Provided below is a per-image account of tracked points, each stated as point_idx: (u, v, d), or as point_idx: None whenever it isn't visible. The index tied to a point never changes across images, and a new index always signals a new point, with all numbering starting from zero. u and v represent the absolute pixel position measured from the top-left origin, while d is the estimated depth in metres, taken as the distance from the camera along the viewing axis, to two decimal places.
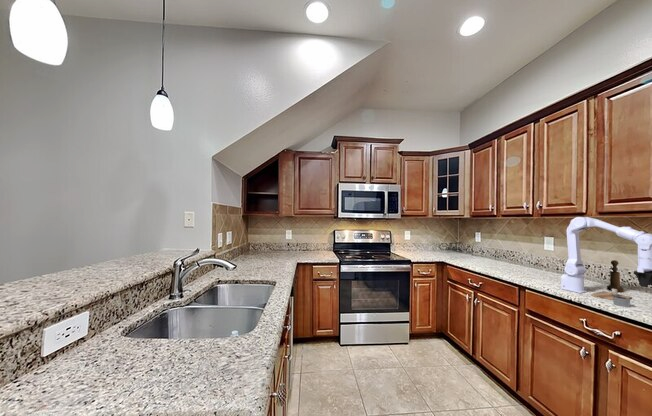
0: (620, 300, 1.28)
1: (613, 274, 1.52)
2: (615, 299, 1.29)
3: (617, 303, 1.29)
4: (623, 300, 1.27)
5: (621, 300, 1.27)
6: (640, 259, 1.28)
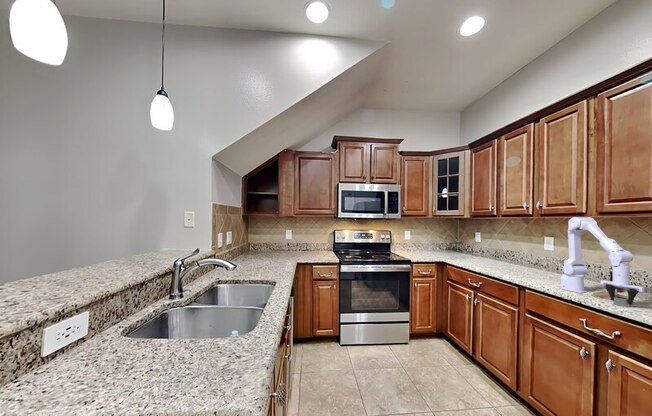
0: (620, 300, 1.28)
1: None
2: (615, 299, 1.29)
3: (617, 303, 1.29)
4: (623, 300, 1.27)
5: (621, 300, 1.27)
6: None
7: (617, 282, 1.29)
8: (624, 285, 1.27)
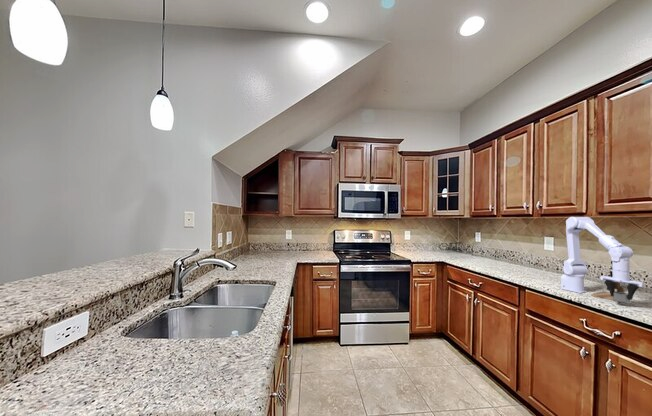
0: (620, 295, 1.28)
1: None
2: (615, 295, 1.30)
3: (617, 298, 1.29)
4: (623, 295, 1.27)
5: (621, 295, 1.27)
6: None
7: (617, 277, 1.29)
8: (624, 280, 1.27)
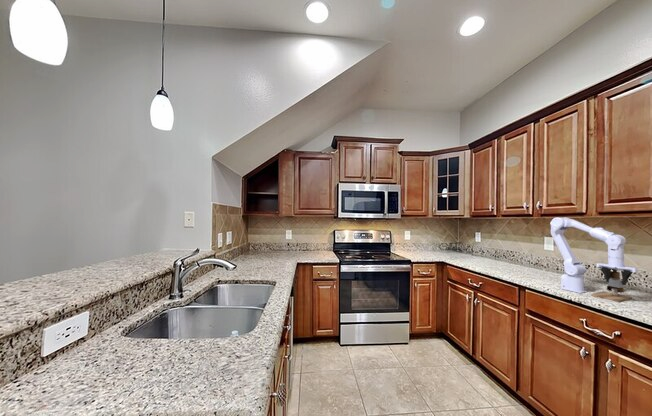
0: (614, 281, 1.35)
1: (613, 274, 1.52)
2: (610, 281, 1.37)
3: (612, 284, 1.36)
4: (617, 281, 1.35)
5: (615, 281, 1.35)
6: None
7: (612, 264, 1.36)
8: (618, 267, 1.34)
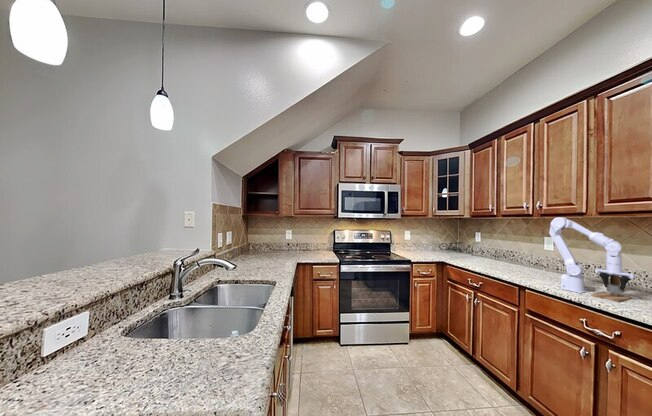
0: (613, 287, 1.39)
1: None
2: (608, 286, 1.41)
3: (610, 290, 1.40)
4: (615, 287, 1.38)
5: (614, 287, 1.39)
6: None
7: (610, 270, 1.40)
8: (616, 273, 1.38)
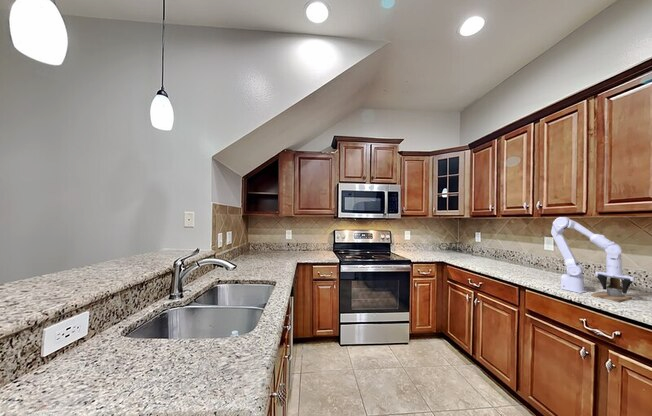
0: (613, 291, 1.39)
1: None
2: (608, 290, 1.41)
3: (610, 294, 1.40)
4: (615, 291, 1.38)
5: (614, 291, 1.39)
6: None
7: (610, 273, 1.40)
8: (617, 275, 1.38)
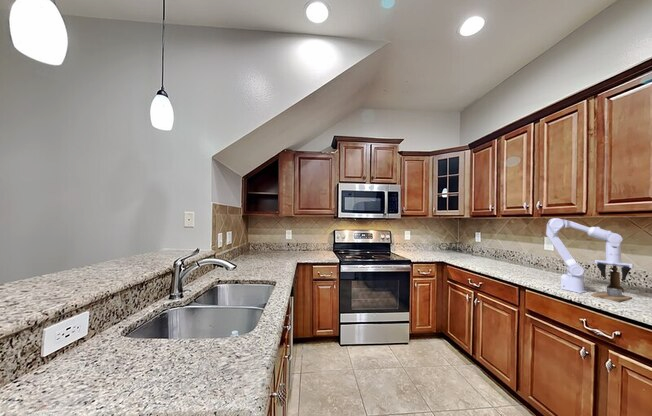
0: (613, 291, 1.39)
1: (613, 274, 1.52)
2: (608, 290, 1.41)
3: (610, 294, 1.40)
4: (615, 291, 1.38)
5: (614, 291, 1.39)
6: None
7: (610, 260, 1.44)
8: (616, 263, 1.42)
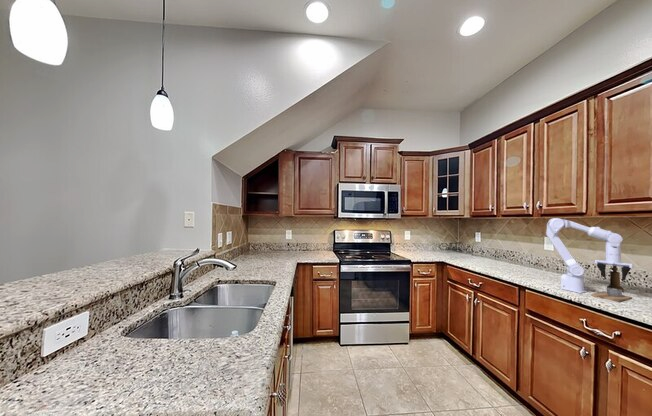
0: (613, 291, 1.39)
1: (613, 274, 1.52)
2: (608, 290, 1.41)
3: (610, 294, 1.40)
4: (615, 291, 1.38)
5: (614, 291, 1.39)
6: None
7: (610, 260, 1.44)
8: (616, 263, 1.42)
